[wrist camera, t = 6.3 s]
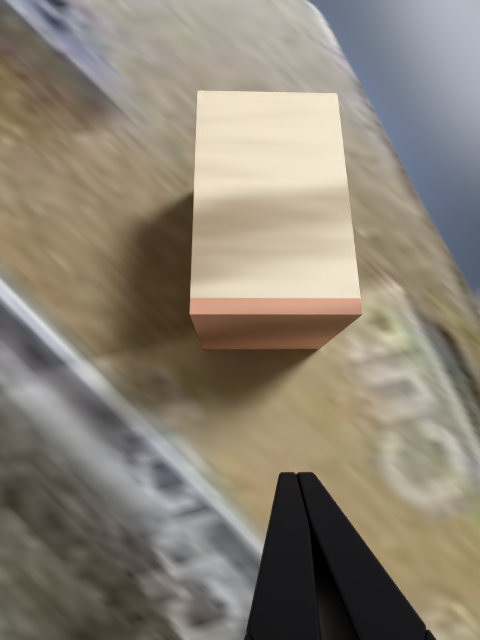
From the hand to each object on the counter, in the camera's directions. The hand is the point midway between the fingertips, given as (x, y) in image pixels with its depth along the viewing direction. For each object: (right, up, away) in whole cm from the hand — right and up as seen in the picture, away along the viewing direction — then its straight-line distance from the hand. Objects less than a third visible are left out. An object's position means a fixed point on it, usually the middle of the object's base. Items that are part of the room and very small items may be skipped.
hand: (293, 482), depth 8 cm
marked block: (0, +3, +6) cm, 7 cm away
